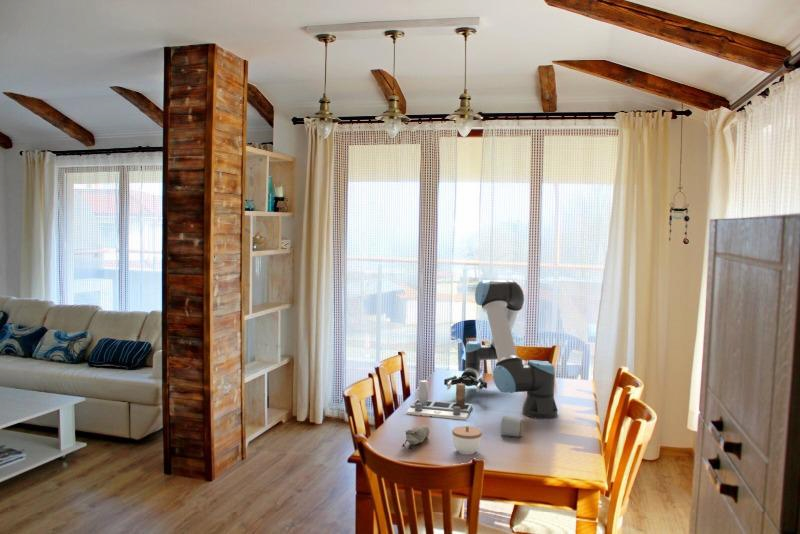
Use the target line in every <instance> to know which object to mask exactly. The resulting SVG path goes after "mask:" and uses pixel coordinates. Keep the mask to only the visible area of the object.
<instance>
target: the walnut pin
mask: <svg viewBox="0 0 800 534" xmlns="http://www.w3.org/2000/svg"><path fill="white" fill-rule="evenodd" d="M455 385H456V387H455V391H456V392H455V403H456V406H459V407H461V409H465V404H466V385H465V384H462V382H461V383H458V384H455ZM465 410H466V409H465Z"/></svg>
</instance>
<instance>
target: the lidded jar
mask: <svg viewBox="0 0 800 534" xmlns="http://www.w3.org/2000/svg"><path fill="white" fill-rule="evenodd" d="M482 435H483V431H482V430H481V429H480V428H478V427H474V426H470V425H461V426H456V427H454V428H453V429H452V443H453V446H454V448H455V449H456V450H457V451H458V453H459V454H460V455H461V454H462V455H467V456H468V455H473V454H475V453H476V452H477V451H478V450H479V448H480V447H481V444H482V437H483V436H482Z"/></svg>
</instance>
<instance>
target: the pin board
mask: <svg viewBox="0 0 800 534" xmlns="http://www.w3.org/2000/svg"><path fill="white" fill-rule="evenodd" d="M428 396H429V381H428V380H426V379H425V380H424V379H423V380H418V398H416V399H415V400H414V401H413V402H412V403H411V404H410V405H409V408H415V403H422V409H430V410H441V411H451V412H453V407H454V406H456V402H452V401H441V400H429V399H428V398H429V397H428ZM427 405H428V406H427ZM472 410H473V403H465V409H461V413H468V415H470V413H471V412H472Z"/></svg>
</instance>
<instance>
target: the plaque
mask: <svg viewBox="0 0 800 534" xmlns="http://www.w3.org/2000/svg"><path fill="white" fill-rule="evenodd" d="M410 414H412V415H413V416H420V415H422V416H423V417H430V416H432V417H433V418H441V419H443V418H444V419H453V420H461V421H467V420H468V417H469V416H468V413H461V407H459V406H454V407H453V412H451V411H441V410H430V409H422V403H415V408H410V407H409V408H408V409H407V411H406V415H410ZM412 415H411V416H412ZM422 416H421V417H422Z"/></svg>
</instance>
